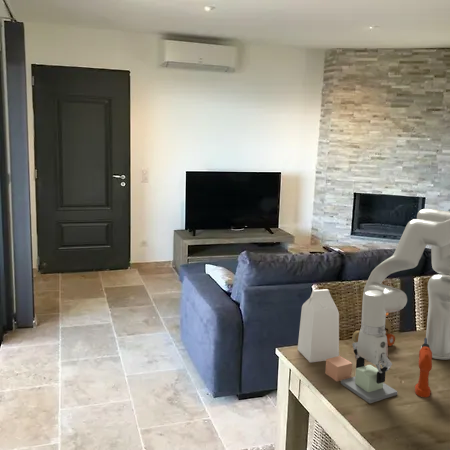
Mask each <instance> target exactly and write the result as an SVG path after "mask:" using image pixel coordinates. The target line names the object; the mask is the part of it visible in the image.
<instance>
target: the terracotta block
mask: <svg viewBox="0 0 450 450" xmlns="http://www.w3.org/2000/svg"><path fill="white" fill-rule="evenodd" d="M352 369H353V362H351V361H350V360H348V359H346V358H345V357H343V356H341V355H339V356H337V357H333V358H329V359H326V361H325V371H324V372H325V374H326V376H328V377H330V378H332V379H333V381H335V382H339V381H340V382H341V380H344V379H348V378H351V377H352V373H353V372H352Z"/></svg>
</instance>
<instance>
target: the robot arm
mask: <svg viewBox="0 0 450 450" xmlns="http://www.w3.org/2000/svg"><path fill="white" fill-rule="evenodd" d="M427 246H429V247H431V249H430V250H431V254H430V255H431V266H432V267H431V268H432V270H433V271H435V272H436V274H433V275H431V277H430V278H429V279H428V282H427V293H428V312H427V318H426V319H427V320H426V331H425V338H427V344H428V345H429V347H430V349H431V351H432V359H435V360H446V361H447V360H448V361H449V360H450V211H448V210H441V209H435V208H423V209H420V210H419V211H418V212H417V214H416V218H413V219H411V220H409V221H408V222H407V224H406V226H405V228H404V230H403V232H402V235H401V237H400V239H399V240H398V243H397V245H396V248H395V249H394V253H393V254H392V255H391V256H389V257H388V258H386V259H384V261H381V263H379V264H378V265H376V266H375V268H374V269H372V271H371V272H370V275H369V277H368V279H367V281H366V283H365V286H364V288H363V295H362V303H361V304H362V306H361V324H360V326H361V327H360V330H359V331H360V332H359V337H358V342H356V343H355V342H353V343H352V345H351V346H352V348H353V352H354V353H353V354H354V355H355V356H354V357H355V359H356V361H355V363H356V365H355V369H356V368H359V367H363V366H365V364H366V363H365V362H366V361H367V362H369V363H370V364H371V365H375V367H376V368H377V369H378V371H379V372H377V380H376V382H377V383H378V384H379V383H382V382H383V383H385V382H386V372H388V371H389V370H391V367H392V366H393V362H392V361H391V360H390V359H389V358H388V357H389V355H388V354H389V353H388V352H389V346H388V343H387V336H386V335H385V334H386V331H385V319H387V318H386V317H387V316H386V313H387V312H388V313H395V312H399V311H402V309H404V307H406V305H407V303H408V296H407V294H406V293H405V291H403V290H402V289H399V288H395V287H393V286H390V285H386V284H383V281H384V280H385V279H386V278H387V277H388V276H390V275H391V274H395V273H397V272H400V271H406V270H410V269H414V268H416V267H417V266H418V265H419V262H420V260H421V258H422V256H423V253H424V251H425V249H426V247H427ZM421 348H422V345H421V346H420V349H421ZM365 360H366V361H365Z"/></svg>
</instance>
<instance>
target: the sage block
mask: <svg viewBox="0 0 450 450" xmlns="http://www.w3.org/2000/svg"><path fill="white" fill-rule="evenodd" d="M377 372H379V371H378V369H377V367H376V366H373V364H372V363H370V364H367V365H364V366H363V367H359V368H356V367H355V376H354V377H355V384H356V385H358V386H359V387H361V388H362V389H364V390H365V391H367V392H371V391H375V390H378V389H381V388H383V383H384V382H382V383H379V384H378V383H377V382H376V380H377Z"/></svg>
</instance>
